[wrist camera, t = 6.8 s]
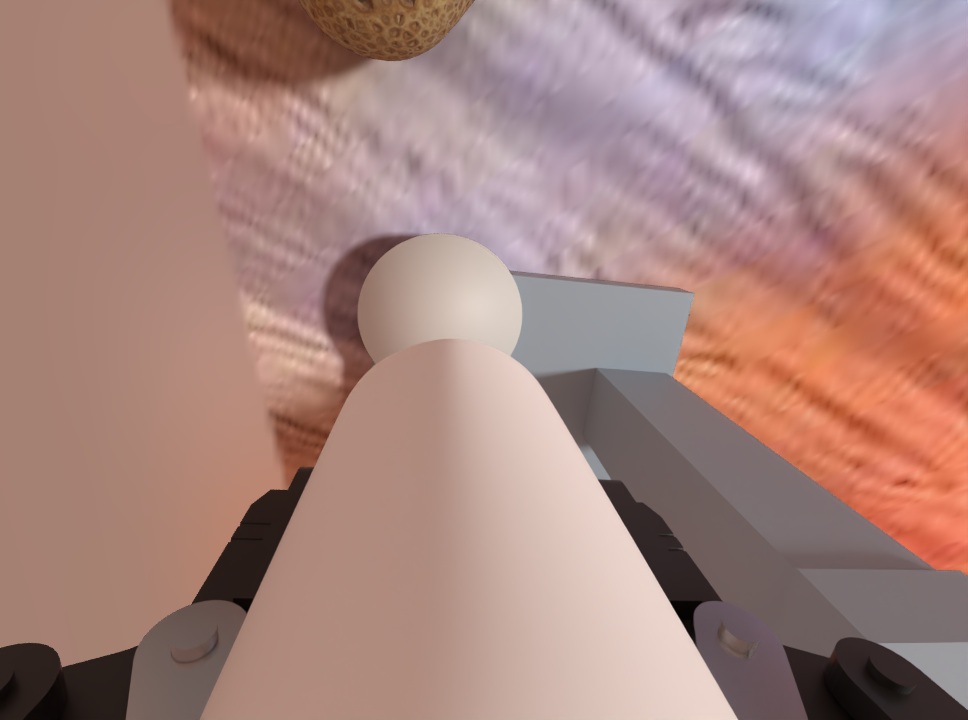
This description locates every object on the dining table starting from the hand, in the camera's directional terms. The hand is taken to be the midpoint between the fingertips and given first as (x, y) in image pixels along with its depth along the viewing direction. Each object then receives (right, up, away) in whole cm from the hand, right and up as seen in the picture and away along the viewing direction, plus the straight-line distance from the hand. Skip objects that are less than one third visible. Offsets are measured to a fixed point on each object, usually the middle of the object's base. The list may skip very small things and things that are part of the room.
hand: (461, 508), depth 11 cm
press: (+3, +2, +21) cm, 22 cm away
